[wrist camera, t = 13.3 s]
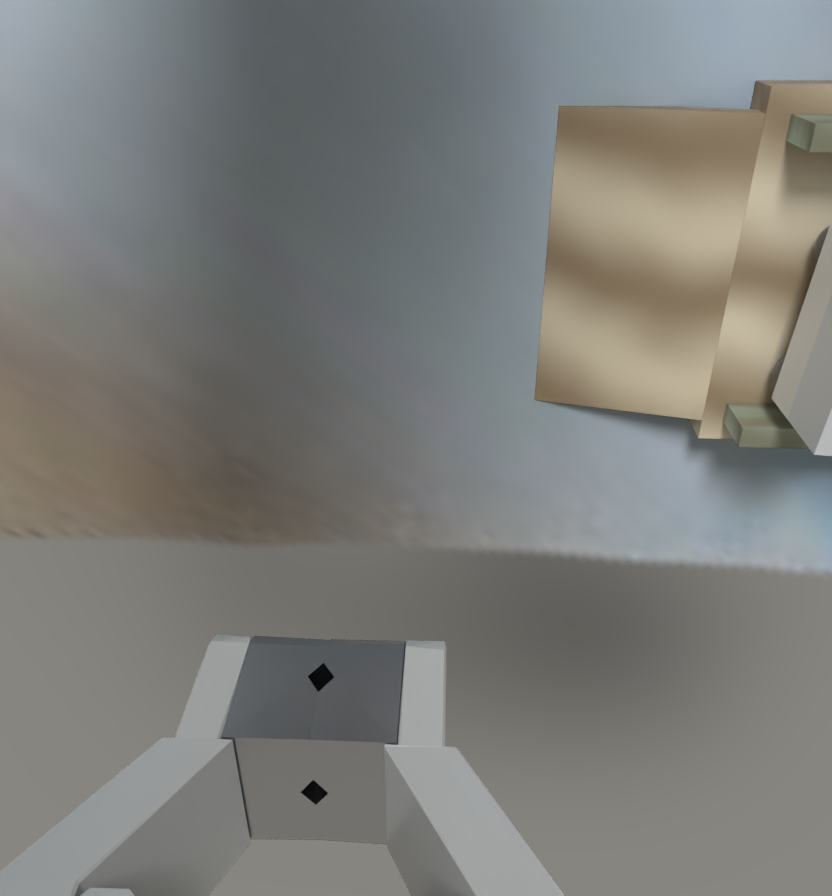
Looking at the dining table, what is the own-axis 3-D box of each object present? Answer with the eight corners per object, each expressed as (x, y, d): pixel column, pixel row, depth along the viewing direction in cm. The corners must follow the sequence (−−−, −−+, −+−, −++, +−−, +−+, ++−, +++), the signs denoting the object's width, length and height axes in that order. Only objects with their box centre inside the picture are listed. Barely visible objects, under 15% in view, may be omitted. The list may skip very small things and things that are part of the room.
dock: (558, 77, 34) (575, 94, 29) (1112, 78, 33) (1219, 95, 28) (531, 408, 42) (541, 461, 37) (974, 415, 41) (1040, 471, 37)
